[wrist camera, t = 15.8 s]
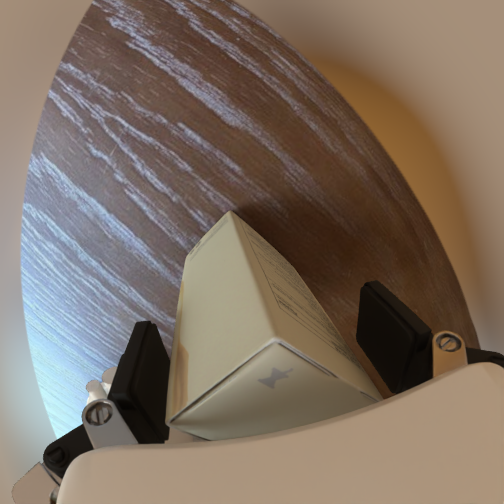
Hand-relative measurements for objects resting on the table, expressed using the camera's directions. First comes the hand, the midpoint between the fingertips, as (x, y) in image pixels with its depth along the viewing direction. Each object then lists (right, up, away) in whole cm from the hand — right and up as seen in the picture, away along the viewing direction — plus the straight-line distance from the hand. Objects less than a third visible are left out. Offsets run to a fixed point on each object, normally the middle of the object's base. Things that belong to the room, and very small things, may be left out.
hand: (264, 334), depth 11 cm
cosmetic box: (-1, +3, +7) cm, 8 cm away
